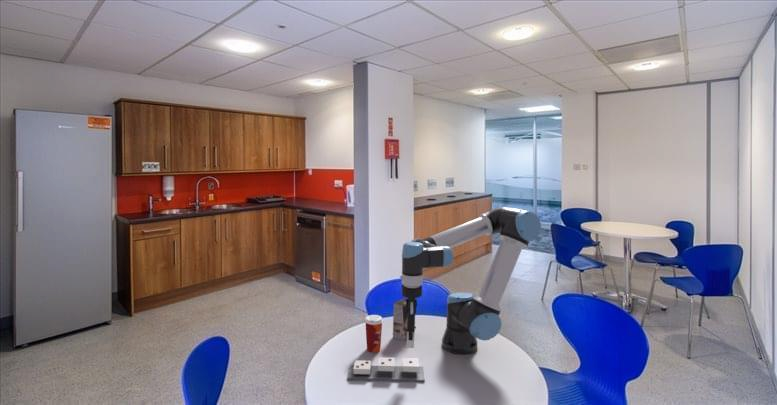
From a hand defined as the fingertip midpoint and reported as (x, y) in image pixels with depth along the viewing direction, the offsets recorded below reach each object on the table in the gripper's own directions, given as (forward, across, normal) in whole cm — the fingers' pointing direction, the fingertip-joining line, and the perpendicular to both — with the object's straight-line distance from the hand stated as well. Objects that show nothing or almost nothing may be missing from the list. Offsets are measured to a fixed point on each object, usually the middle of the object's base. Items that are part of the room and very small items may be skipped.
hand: (410, 346), depth 143 cm
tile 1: (+8, 0, 0) cm, 8 cm away
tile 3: (+10, 0, -18) cm, 20 cm away
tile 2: (+8, 0, -9) cm, 12 cm away
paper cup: (+11, -19, -15) cm, 27 cm away
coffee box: (+11, -33, -2) cm, 35 cm away
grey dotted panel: (+11, 0, -9) cm, 14 cm away
